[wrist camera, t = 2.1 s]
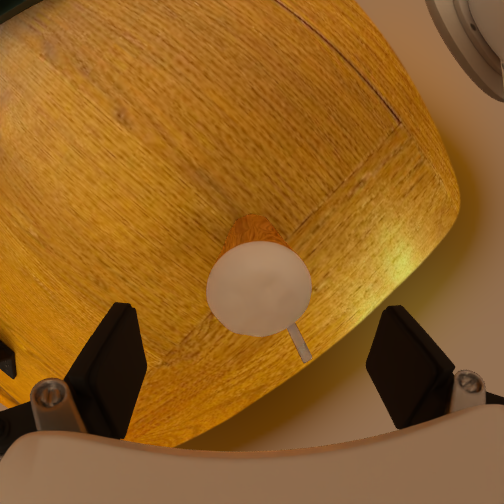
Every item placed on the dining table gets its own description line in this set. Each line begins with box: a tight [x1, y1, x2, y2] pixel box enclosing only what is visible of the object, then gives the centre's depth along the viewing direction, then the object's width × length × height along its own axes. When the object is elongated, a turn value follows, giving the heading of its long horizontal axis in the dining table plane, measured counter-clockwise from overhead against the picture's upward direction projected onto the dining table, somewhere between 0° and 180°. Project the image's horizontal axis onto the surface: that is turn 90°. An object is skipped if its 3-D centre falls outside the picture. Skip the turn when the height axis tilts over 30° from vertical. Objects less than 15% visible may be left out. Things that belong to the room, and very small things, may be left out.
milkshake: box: [206, 213, 312, 363], centre depth 15 cm, size 4×5×10 cm
